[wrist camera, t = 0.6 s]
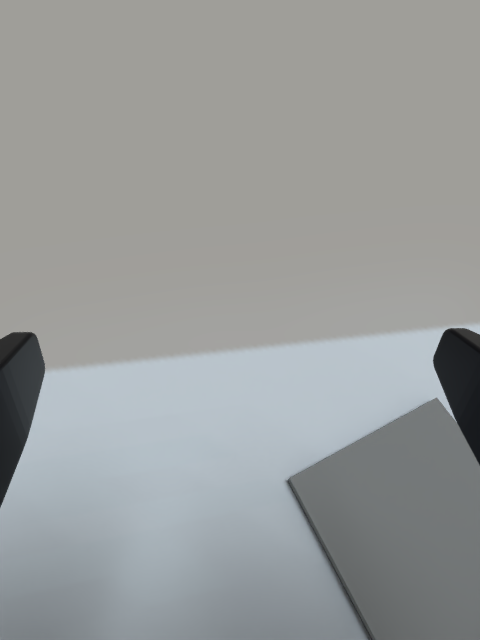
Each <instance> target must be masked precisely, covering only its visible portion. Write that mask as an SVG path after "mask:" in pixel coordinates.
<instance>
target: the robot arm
mask: <svg viewBox="0 0 480 640" xmlns="http://www.w3.org/2000/svg"><path fill="white" fill-rule="evenodd" d="M433 364H434V368H435V371H436V373H437V375H438V378H439V380H440V383H441V385H442V388H443V390H444V393H445V395H446V398H447V400H448V402H449V405H450V407H451V410H452V412H453V415H454V417H455V419H456V421H457V424H458V426H459V428H460V430H461V432H462V434H463V435H464V437H465V439H466V441H467V443H468V445H469V447H470V448H471V450H472V452H473V454H474V456H475V458H476V460H477V462H478V463H479V465H480V335H479V334H477V333H475V332H473V331H470V330H468V329H465V328H450V329H447V330H446V331H445V332H444V333H443V335H442V337H441V340H440V342H439V345H438V347H437V350H436V352H435V355H434V358H433ZM44 373H45V363H44V360H43V356H42V353H41V349H40V346H39V343H38V339H37V337H36V335H35V334H34V333H32V332H14V333H11V334H9V335H7V336H5V337H4V338H2V339H0V507H1V505H2V502H3V500H4V497H5V495H6V492H7V490H8V487H9V484H10V482H11V479H12V477H13V474H14V472H15V469H16V467H17V464H18V462H19V459H20V457H21V454H22V452H23V449H24V446H25V444H26V441H27V438H28V435H29V431H30V428H31V424H32V420H33V416H34V412H35V409H36V405H37V401H38V397H39V393H40V389H41V385H42V382H43V378H44Z"/></svg>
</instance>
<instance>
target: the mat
mask: <svg viewBox="0 0 480 640" xmlns="http://www.w3.org/2000/svg"><path fill="white" fill-rule="evenodd" d="M288 482H289V484H290V486H291V487H292V489H293V491H294V493H295V495H296V497H297V499H298V501H299V502H300V504H301V506H302V508H303V510H304V512H305V514H306V516H307V518H308V519H309V521H310V523H311V525H312V527H313V529H314V531H315V533H316V535H317V536H318V538H319V540H320V542H321V544H322V546H323V548H324V550H325V552H326V553H327V555H328V557H329V559H330V561H331V563H332V565H333V567H334V568H335V570H336V572H337V574H338V576H339V578H340V580H341V582H342V584H343V585H344V587H345V589H346V591H347V593H348V595H349V597H350V599H351V601H352V602H353V604H354V606H355V608H356V610H357V612H358V614H359V616H360V618H361V619H362V621H363V623H364V625H365V627H366V629H367V631H368V633H369V634H370V636H371V638H372V640H480V465H479V463H478V462H477V460H476V458H475V456H474V454H473V452H472V450H471V448H470V447H469V445H468V443H467V441H466V439H465V437H464V435H463V434H462V432H461V430H460V428H459V426H458V424H457V423H456V421H455V420H454V419H453V418H452V416H451V415H450V414H449V412H448V411H447V410H446V409H445V407H444V406H443V405H442V404H441V402H440V401H439V400H438V399H437V398H435V399H433V400H431V401H430V402H428V403H426V404H424V405H422V406H420V407H419V408H417V409H415V410H413V411H411V412H409V413H408V414H406V415H404V416H402V417H400V418H399V419H397V420H395V421H393V422H391V423H389V424H388V425H386V426H384V427H382V428H380V429H379V430H377V431H375V432H373V433H371V434H369V435H368V436H366V437H364V438H362V439H360V440H358V441H357V442H355V443H353V444H351V445H349V446H348V447H346V448H344V449H342V450H340V451H338V452H337V453H335V454H333V455H331V456H329V457H327V458H326V459H324V460H322V461H320V462H318V463H317V464H315V465H313V466H311V467H309V468H307V469H306V470H304V471H302V472H300V473H298V474H297V475H295V476H293V477H291V478H289V480H288Z"/></svg>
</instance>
